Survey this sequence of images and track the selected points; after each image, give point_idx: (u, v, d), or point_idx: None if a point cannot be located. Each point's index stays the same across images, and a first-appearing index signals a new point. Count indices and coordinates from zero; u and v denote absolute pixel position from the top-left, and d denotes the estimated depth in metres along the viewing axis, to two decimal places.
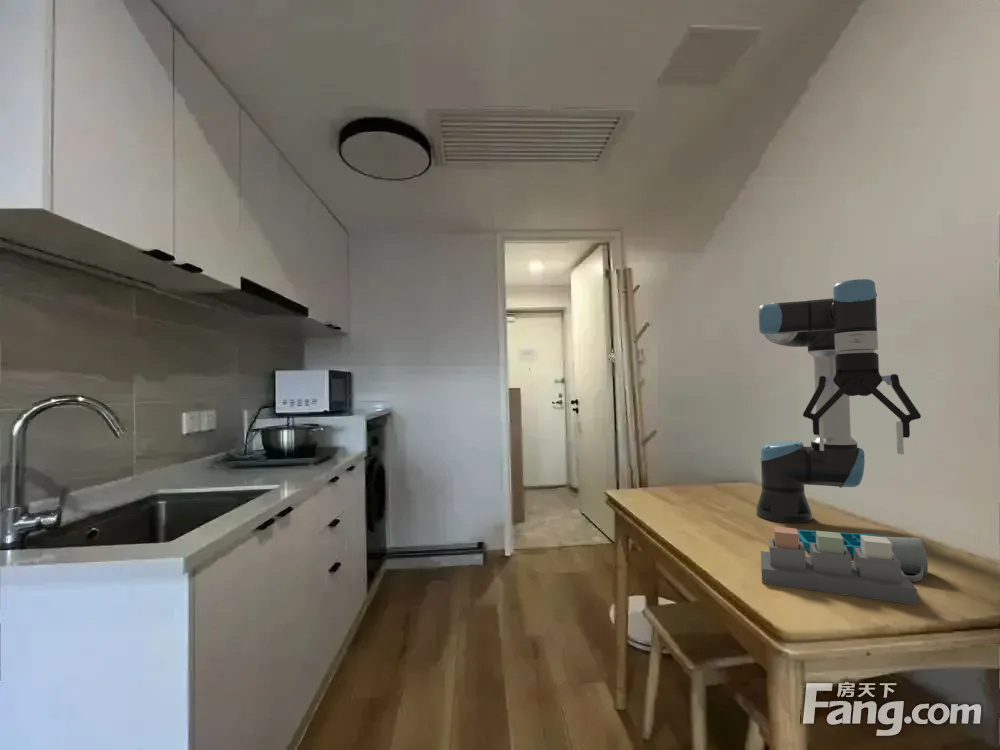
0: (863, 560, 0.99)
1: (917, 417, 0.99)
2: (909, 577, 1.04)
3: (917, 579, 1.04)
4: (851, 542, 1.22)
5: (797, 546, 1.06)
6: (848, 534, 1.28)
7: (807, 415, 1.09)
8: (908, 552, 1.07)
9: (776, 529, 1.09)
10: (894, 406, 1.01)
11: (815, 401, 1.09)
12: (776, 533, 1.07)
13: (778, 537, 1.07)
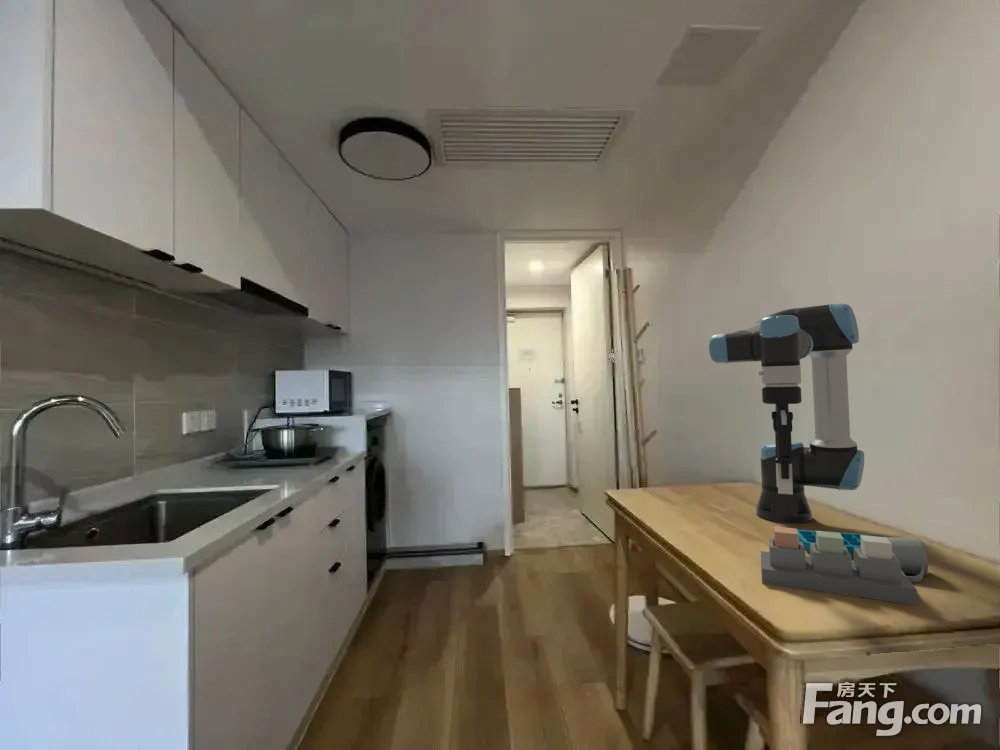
0: (863, 560, 0.99)
1: None
2: (909, 577, 1.04)
3: (917, 579, 1.03)
4: (851, 542, 1.22)
5: (797, 546, 1.06)
6: (848, 534, 1.28)
7: (775, 451, 1.15)
8: (908, 552, 1.06)
9: (776, 529, 1.09)
10: (777, 445, 1.06)
11: (775, 436, 1.14)
12: (776, 533, 1.07)
13: (778, 537, 1.07)
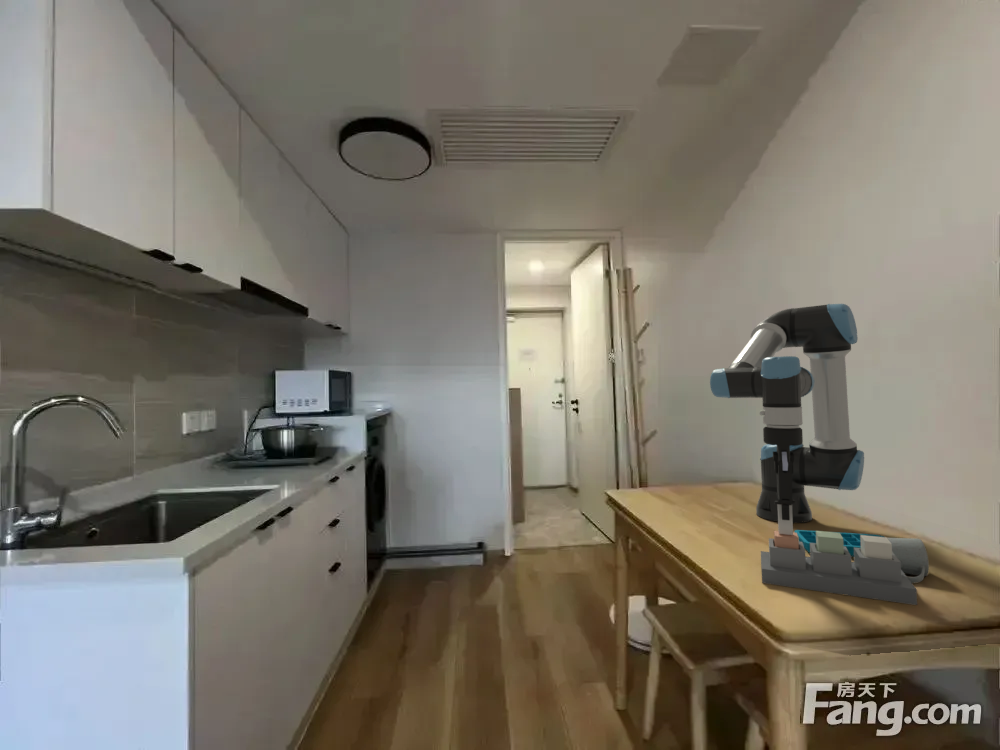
0: (863, 560, 0.99)
1: None
2: (910, 578, 1.03)
3: (918, 580, 1.03)
4: (851, 542, 1.22)
5: None
6: (848, 534, 1.28)
7: (777, 494, 1.12)
8: (909, 553, 1.06)
9: (776, 533, 1.09)
10: (778, 487, 1.08)
11: None
12: (776, 537, 1.07)
13: (778, 542, 1.07)
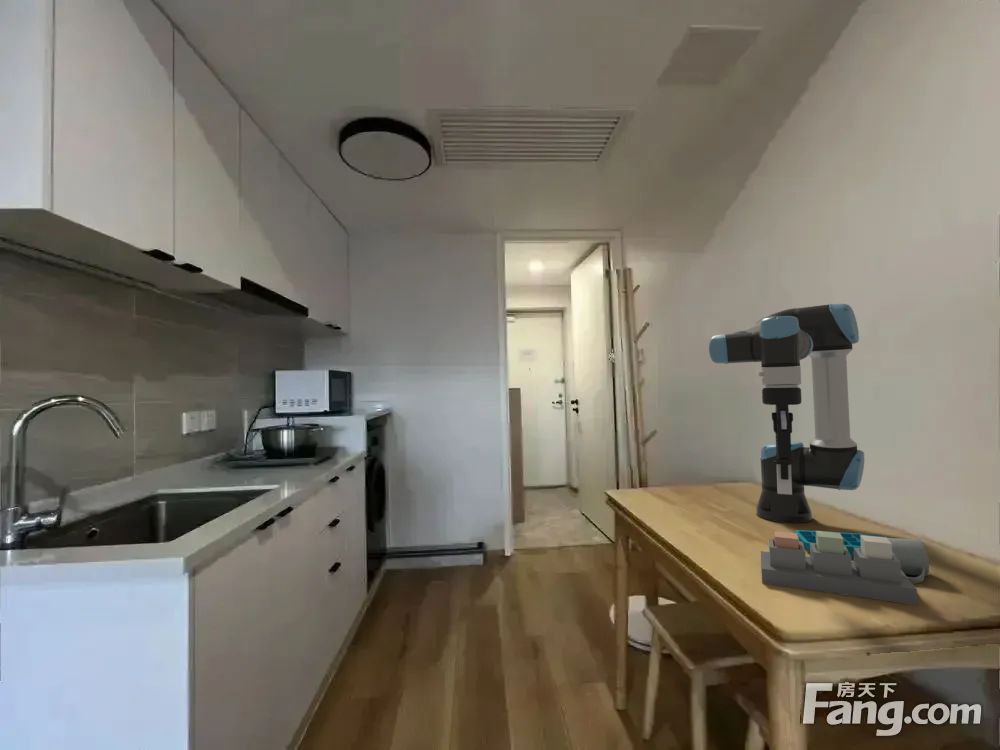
0: (863, 560, 0.99)
1: None
2: (910, 579, 1.03)
3: (918, 581, 1.03)
4: (851, 542, 1.22)
5: None
6: (847, 534, 1.28)
7: (776, 455, 1.12)
8: (909, 553, 1.06)
9: (776, 534, 1.09)
10: (777, 447, 1.08)
11: None
12: (776, 538, 1.07)
13: (778, 542, 1.07)
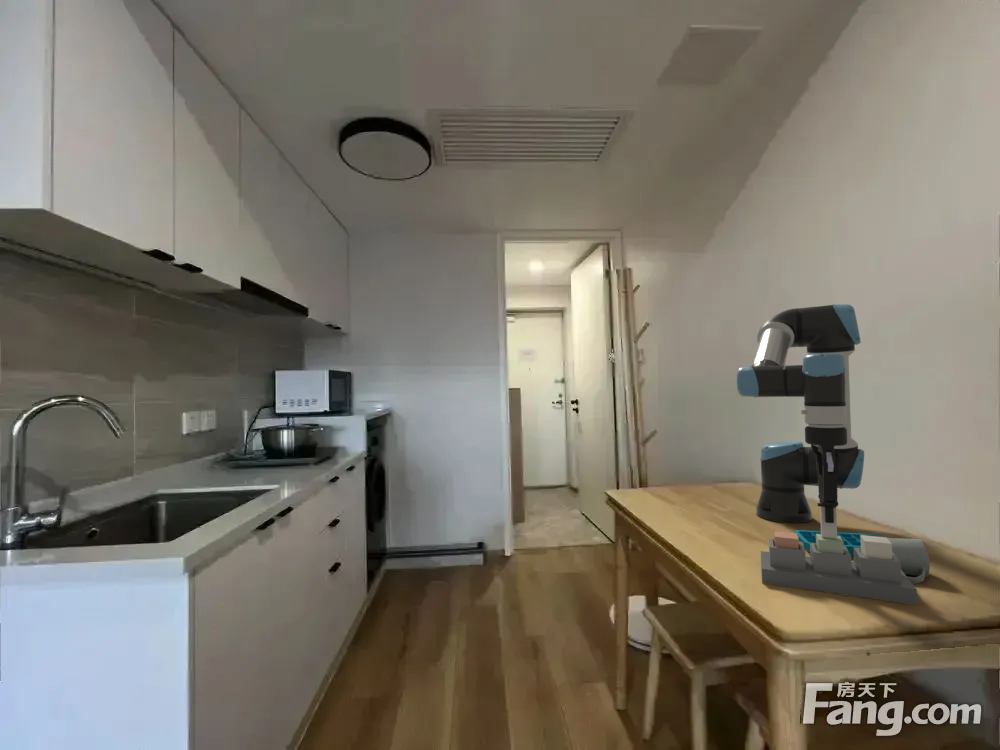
0: (863, 560, 0.99)
1: None
2: (911, 579, 1.03)
3: (919, 581, 1.03)
4: (851, 542, 1.22)
5: None
6: (847, 534, 1.28)
7: (818, 496, 1.08)
8: (910, 553, 1.06)
9: (776, 534, 1.09)
10: (821, 489, 1.04)
11: (818, 480, 1.09)
12: (776, 538, 1.07)
13: (778, 542, 1.07)
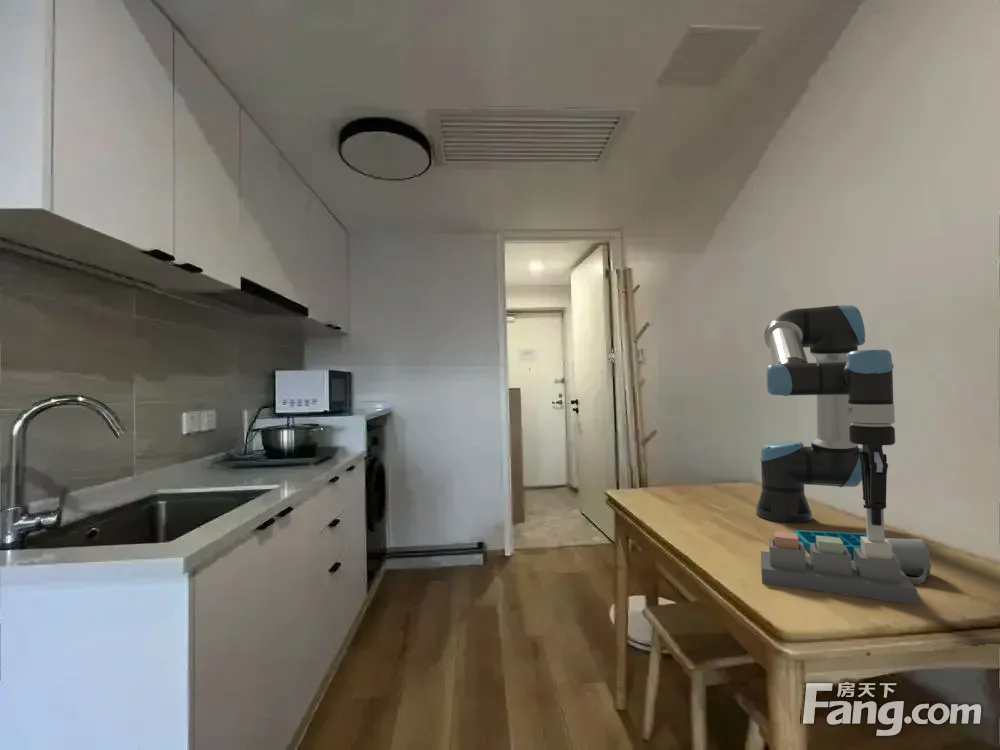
0: (863, 560, 0.99)
1: (869, 505, 0.99)
2: (912, 579, 1.03)
3: (920, 581, 1.03)
4: (851, 542, 1.22)
5: None
6: (847, 534, 1.29)
7: (863, 497, 1.04)
8: (911, 554, 1.06)
9: (776, 534, 1.09)
10: (868, 490, 1.00)
11: (863, 481, 1.05)
12: (776, 538, 1.07)
13: (778, 542, 1.07)
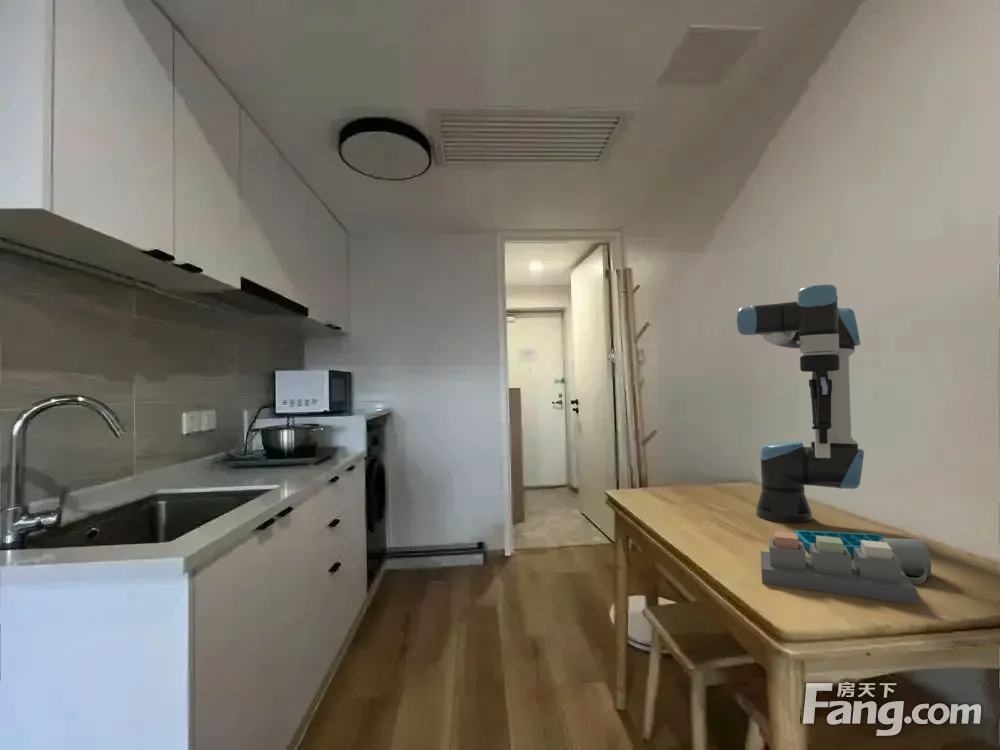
0: (863, 560, 0.99)
1: None
2: (912, 579, 1.03)
3: (920, 581, 1.02)
4: (851, 542, 1.22)
5: None
6: (846, 534, 1.29)
7: (813, 421, 1.15)
8: (911, 554, 1.06)
9: (776, 534, 1.09)
10: (816, 413, 1.11)
11: (812, 406, 1.16)
12: (776, 538, 1.07)
13: (778, 542, 1.07)
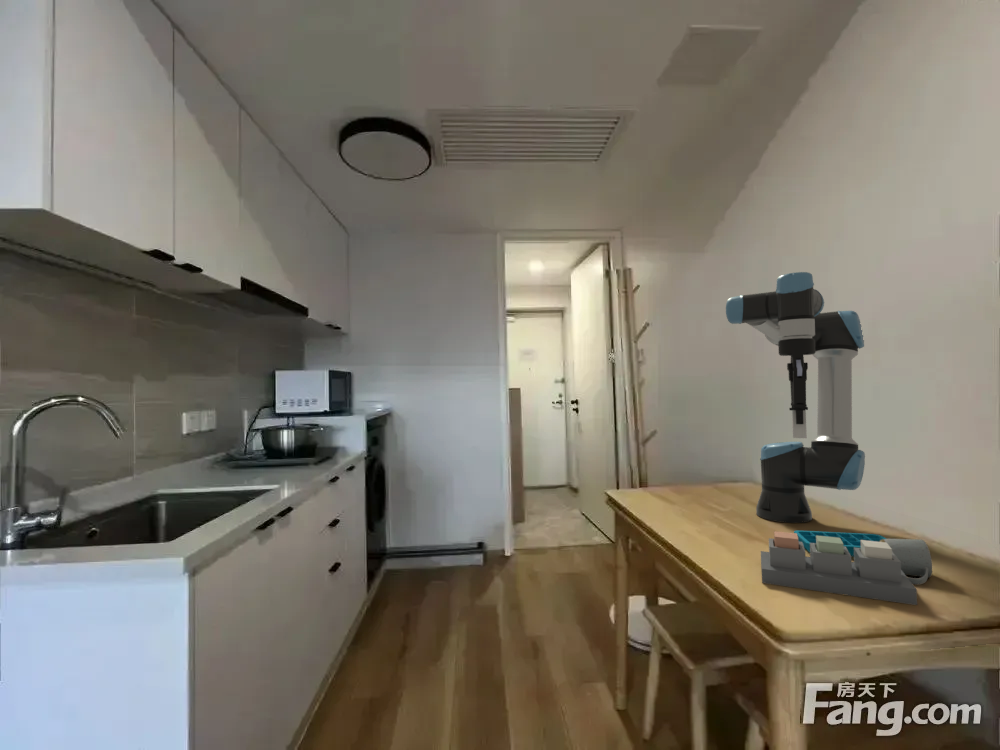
0: (863, 560, 0.99)
1: None
2: (914, 579, 1.02)
3: (922, 581, 1.02)
4: (851, 542, 1.22)
5: None
6: (846, 534, 1.29)
7: (791, 404, 1.20)
8: (912, 554, 1.05)
9: (776, 534, 1.09)
10: None
11: (791, 390, 1.21)
12: (776, 538, 1.07)
13: (778, 542, 1.07)
